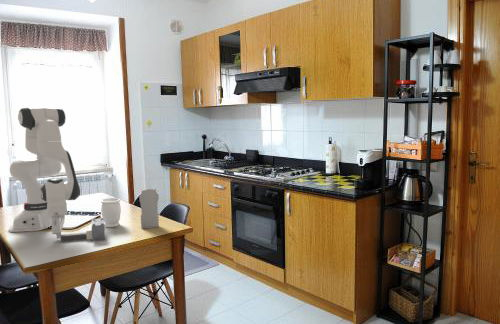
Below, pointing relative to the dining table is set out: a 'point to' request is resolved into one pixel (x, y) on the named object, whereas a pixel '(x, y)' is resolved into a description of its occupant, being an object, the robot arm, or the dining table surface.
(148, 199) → the tall pale column
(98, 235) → the block
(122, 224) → the dining table surface
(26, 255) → the dining table surface
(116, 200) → the jar
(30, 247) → the dining table surface
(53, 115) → the robot arm
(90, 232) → the plug
